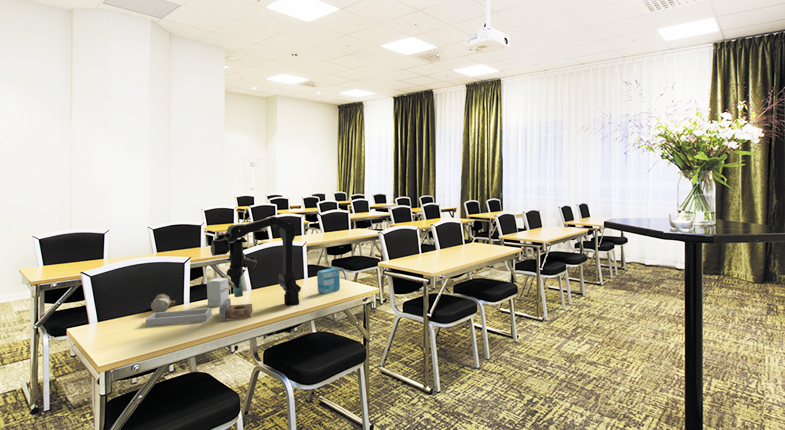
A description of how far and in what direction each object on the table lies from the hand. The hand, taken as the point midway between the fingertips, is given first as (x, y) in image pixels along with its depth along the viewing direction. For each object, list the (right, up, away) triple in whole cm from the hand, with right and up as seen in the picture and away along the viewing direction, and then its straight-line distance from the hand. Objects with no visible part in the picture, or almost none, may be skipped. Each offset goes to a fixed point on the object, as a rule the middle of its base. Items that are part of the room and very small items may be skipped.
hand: (238, 287), depth 189 cm
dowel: (0, -4, 0) cm, 4 cm away
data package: (+35, -9, +39) cm, 53 cm away
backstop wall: (-5, -13, 0) cm, 14 cm away
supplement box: (-17, -12, +20) cm, 29 cm away
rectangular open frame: (-24, -14, -4) cm, 28 cm away
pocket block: (+1, -13, 0) cm, 13 cm away
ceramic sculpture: (-42, -14, +13) cm, 46 cm away
